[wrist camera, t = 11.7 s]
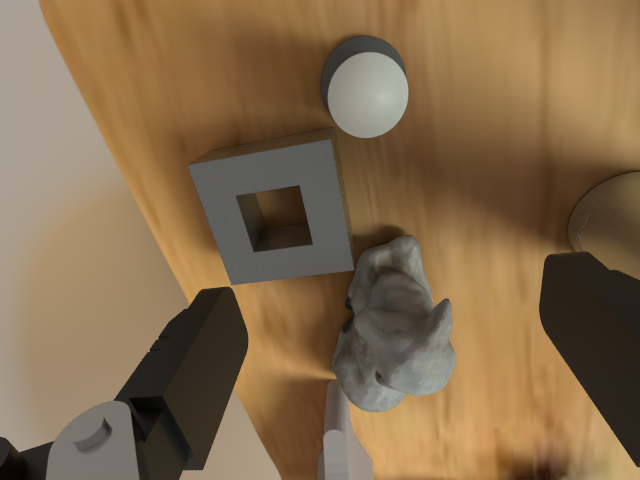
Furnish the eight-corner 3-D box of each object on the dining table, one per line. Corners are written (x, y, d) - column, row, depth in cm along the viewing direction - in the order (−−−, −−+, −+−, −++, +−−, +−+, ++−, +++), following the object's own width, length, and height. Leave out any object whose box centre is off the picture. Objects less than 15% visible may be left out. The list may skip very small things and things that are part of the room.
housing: (333, 127, 32) (330, 139, 27) (354, 244, 37) (354, 270, 32) (209, 150, 34) (187, 165, 29) (245, 258, 39) (231, 285, 34)
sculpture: (433, 228, 35) (480, 332, 22) (418, 377, 45) (445, 512, 32) (324, 230, 36) (307, 330, 23) (333, 375, 46) (324, 504, 33)
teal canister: (388, 46, 28) (404, 43, 19) (394, 107, 30) (411, 130, 21) (331, 59, 29) (320, 62, 20) (340, 118, 31) (335, 144, 22)
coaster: (401, 27, 28) (402, 26, 27) (408, 119, 31) (409, 120, 30) (313, 47, 29) (313, 46, 28) (329, 134, 32) (329, 135, 31)
